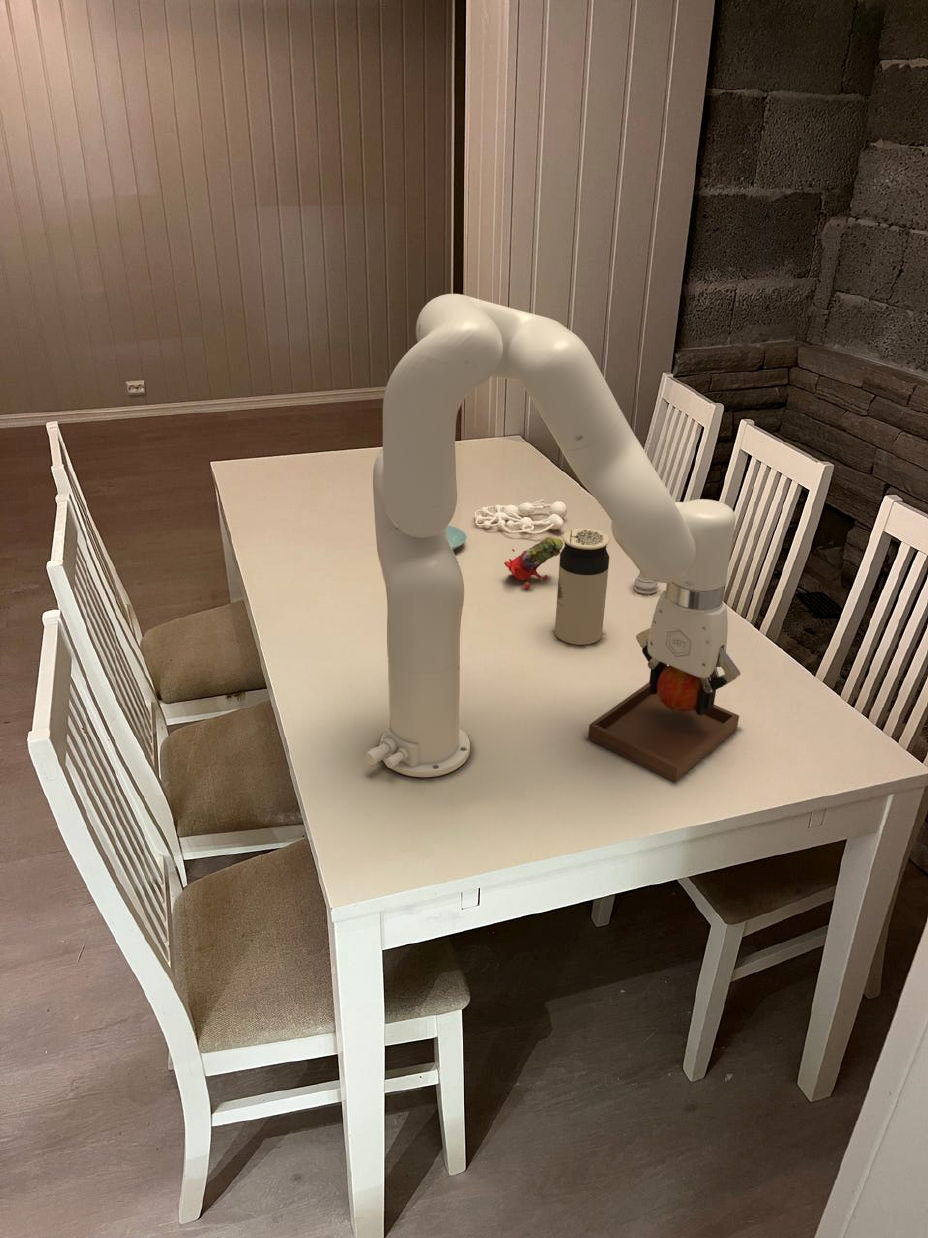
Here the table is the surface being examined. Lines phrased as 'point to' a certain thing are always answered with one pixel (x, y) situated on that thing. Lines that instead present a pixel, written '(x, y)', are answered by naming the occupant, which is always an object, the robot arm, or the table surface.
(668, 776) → the tray
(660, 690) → the fruit
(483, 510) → the tangled rod sculpture
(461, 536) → the saucer
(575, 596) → the travel mug
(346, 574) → the table surface
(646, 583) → the rook chess piece
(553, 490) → the table surface
